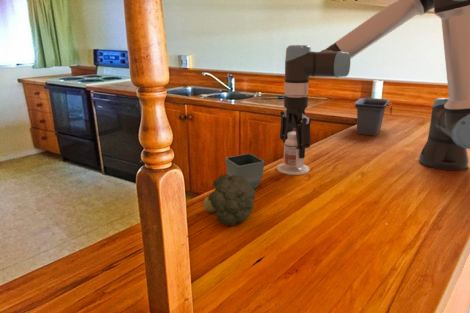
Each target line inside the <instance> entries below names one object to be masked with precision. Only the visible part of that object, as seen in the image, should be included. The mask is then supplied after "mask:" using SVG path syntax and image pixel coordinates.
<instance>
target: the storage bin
mask: <svg viewBox="0 0 470 313" xmlns="http://www.w3.org/2000/svg"><path fill="white" fill-rule="evenodd" d="M390 101H391V100H390V99H387V98H375V97H361V98H358V100H356V101H355V102H354V104H355V105H354V109H356V110H357V111H356V133H357V134H358V135H365V136H377V134H378V133H379V132H380V130H381V128H382V125H383V119H384V115H385V111H386V109H387V108H388V109H390V111H389V115H392V114H393V105H392V104H389V103H390Z"/></svg>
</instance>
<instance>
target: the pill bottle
mask: <svg viewBox="0 0 470 313" xmlns="http://www.w3.org/2000/svg"><path fill="white" fill-rule="evenodd" d="M287 136H288V139H286V141H285V162H284V163H285V165H286V166H289V167H295V166H296V148H298V143H297V137H296V130H295V131H294V130H293V131H291V132H288V134H287ZM301 145H302V144H301Z"/></svg>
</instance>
